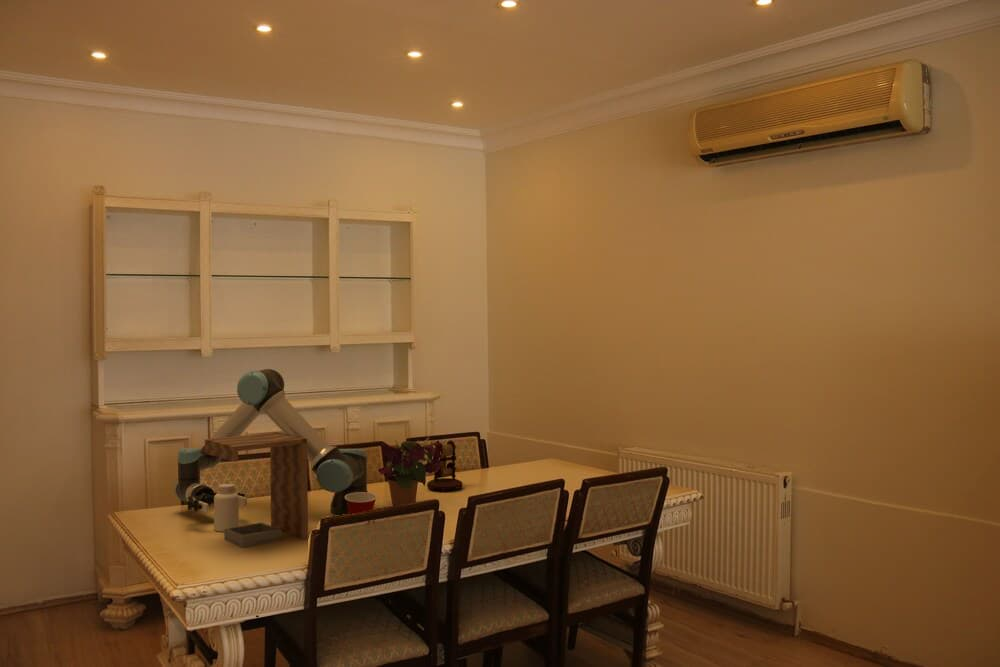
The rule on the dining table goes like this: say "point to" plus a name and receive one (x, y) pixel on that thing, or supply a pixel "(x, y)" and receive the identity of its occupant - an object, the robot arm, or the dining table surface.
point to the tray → (252, 534)
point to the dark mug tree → (446, 470)
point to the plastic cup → (360, 501)
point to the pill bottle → (226, 508)
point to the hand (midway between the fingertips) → (226, 505)
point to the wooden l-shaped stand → (276, 475)
